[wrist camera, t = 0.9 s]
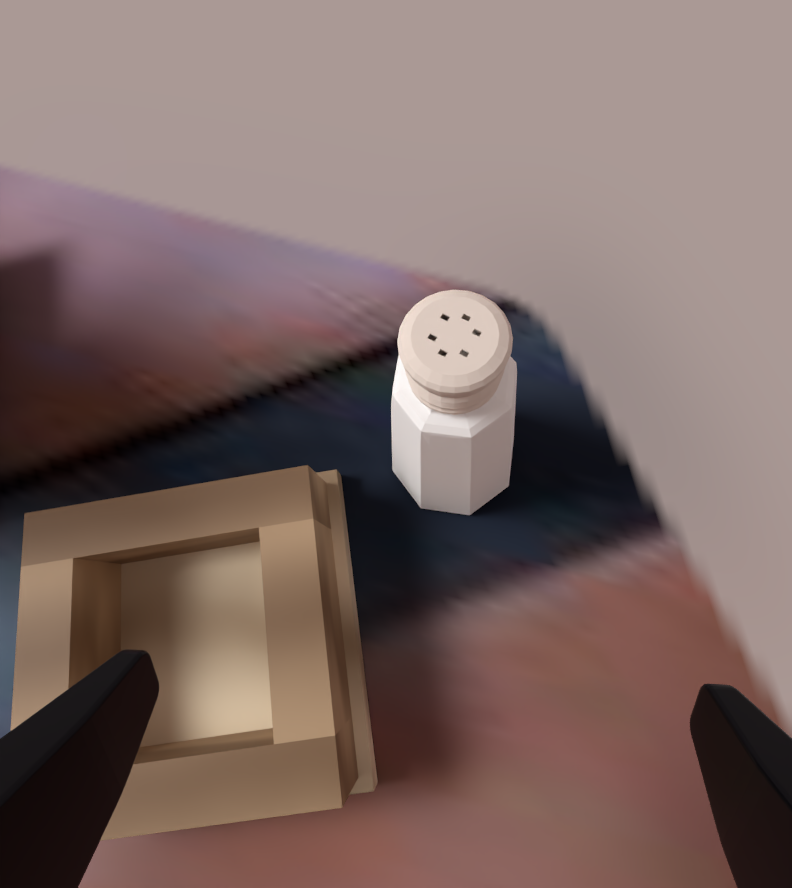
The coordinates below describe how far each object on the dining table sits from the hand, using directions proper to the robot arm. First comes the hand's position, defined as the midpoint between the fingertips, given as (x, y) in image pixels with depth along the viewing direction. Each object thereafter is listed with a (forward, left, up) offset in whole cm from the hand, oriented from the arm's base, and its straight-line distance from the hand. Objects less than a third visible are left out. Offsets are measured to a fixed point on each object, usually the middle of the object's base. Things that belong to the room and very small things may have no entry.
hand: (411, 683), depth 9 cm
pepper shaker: (+7, -2, -13) cm, 15 cm away
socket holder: (+1, +9, -13) cm, 16 cm away
